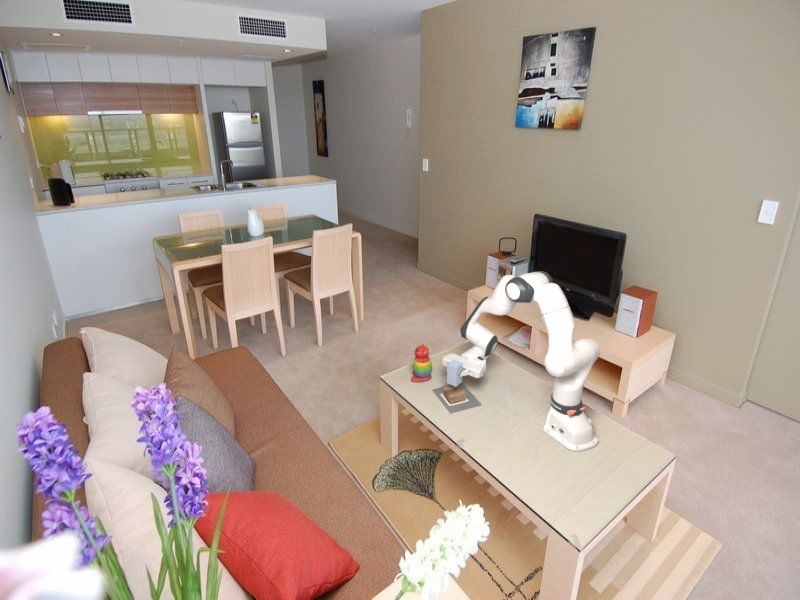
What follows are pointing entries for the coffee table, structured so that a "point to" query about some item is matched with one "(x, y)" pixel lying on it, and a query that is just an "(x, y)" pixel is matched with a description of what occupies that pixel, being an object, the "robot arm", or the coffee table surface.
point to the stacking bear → (421, 365)
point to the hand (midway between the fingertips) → (453, 372)
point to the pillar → (454, 372)
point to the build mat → (459, 406)
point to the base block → (454, 394)
